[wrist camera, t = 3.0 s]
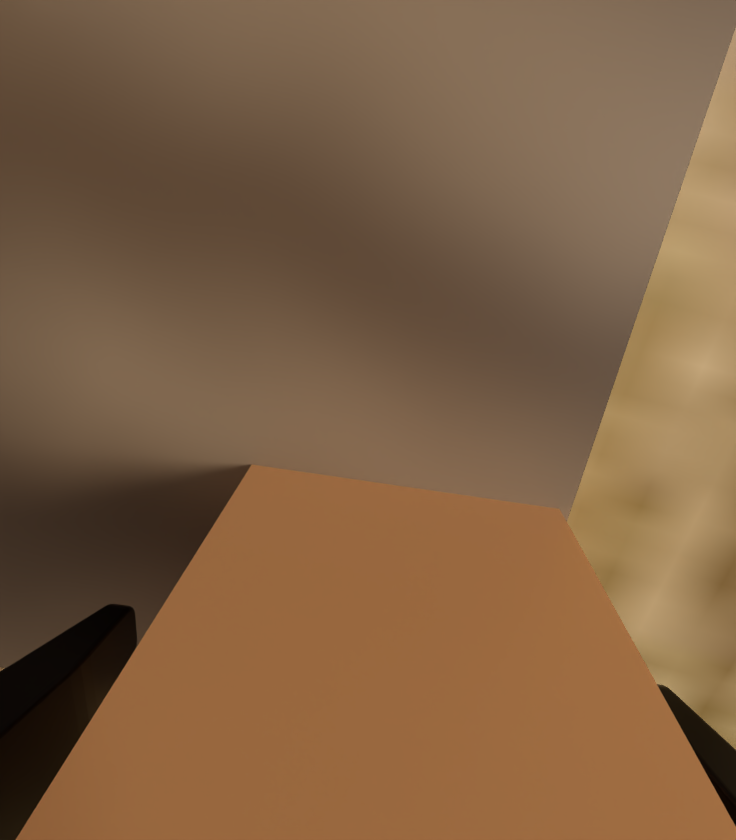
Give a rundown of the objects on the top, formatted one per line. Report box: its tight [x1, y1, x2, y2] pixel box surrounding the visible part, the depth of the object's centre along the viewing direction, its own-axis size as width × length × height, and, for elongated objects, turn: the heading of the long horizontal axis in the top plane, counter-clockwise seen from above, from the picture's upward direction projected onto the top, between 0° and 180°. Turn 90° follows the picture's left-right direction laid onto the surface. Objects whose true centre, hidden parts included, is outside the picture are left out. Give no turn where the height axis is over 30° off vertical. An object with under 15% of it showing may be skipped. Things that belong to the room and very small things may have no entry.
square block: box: [16, 465, 736, 840], centre depth 7 cm, size 6×6×7 cm
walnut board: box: [0, 0, 736, 668], centre depth 8 cm, size 20×14×1 cm
